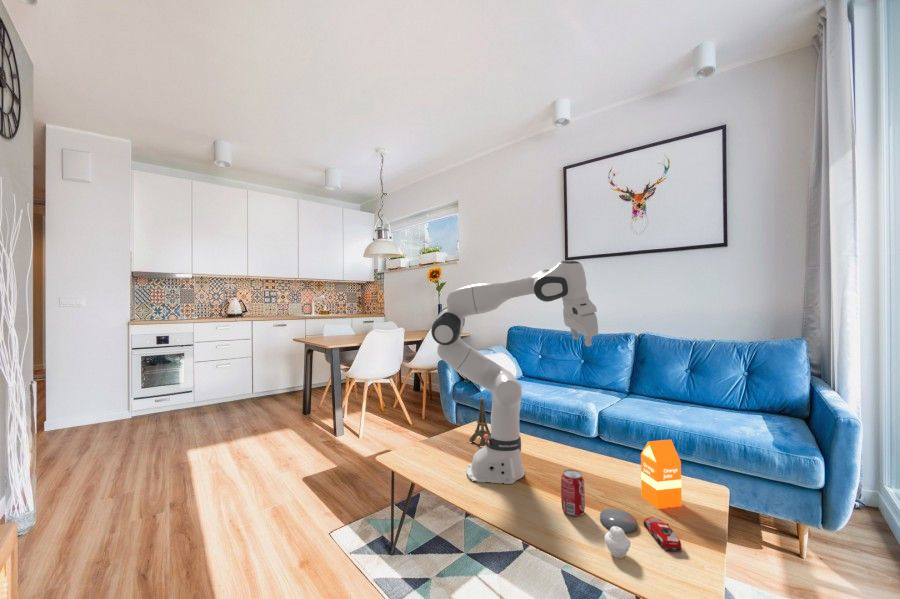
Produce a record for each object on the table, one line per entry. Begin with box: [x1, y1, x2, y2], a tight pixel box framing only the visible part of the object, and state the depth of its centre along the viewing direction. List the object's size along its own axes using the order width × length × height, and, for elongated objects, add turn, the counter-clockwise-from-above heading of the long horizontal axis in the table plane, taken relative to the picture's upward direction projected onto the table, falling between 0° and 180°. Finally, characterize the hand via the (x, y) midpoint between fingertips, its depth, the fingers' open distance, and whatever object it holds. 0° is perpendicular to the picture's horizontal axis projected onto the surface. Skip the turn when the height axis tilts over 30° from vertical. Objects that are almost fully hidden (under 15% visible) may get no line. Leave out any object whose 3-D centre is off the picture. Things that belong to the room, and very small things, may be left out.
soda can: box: [560, 469, 586, 517], centre depth 116 cm, size 7×7×12 cm
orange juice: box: [640, 439, 683, 510], centre depth 122 cm, size 8×9×20 cm
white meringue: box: [604, 526, 632, 558], centre depth 97 cm, size 6×6×7 cm
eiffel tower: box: [468, 397, 491, 446], centre depth 176 cm, size 11×11×25 cm
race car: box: [643, 516, 682, 552], centre depth 103 cm, size 13×5×4 cm, turn 176°
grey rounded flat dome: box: [599, 508, 638, 535], centre depth 110 cm, size 10×10×2 cm
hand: (582, 342), depth 133 cm, fingers open, 8 cm apart
